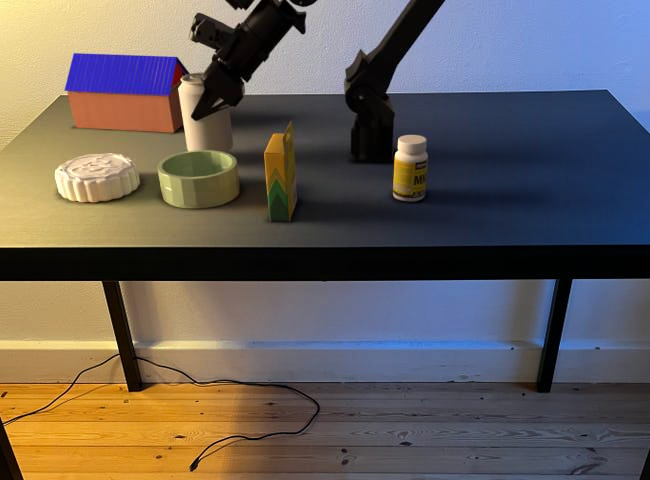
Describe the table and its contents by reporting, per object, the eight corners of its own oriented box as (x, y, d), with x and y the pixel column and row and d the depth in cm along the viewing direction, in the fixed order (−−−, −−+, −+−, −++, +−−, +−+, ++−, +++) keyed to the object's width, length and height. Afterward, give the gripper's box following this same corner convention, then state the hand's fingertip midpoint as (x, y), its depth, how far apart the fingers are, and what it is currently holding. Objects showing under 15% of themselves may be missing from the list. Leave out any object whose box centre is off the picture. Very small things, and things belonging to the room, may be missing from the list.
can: (225, 161, 109) (215, 83, 102) (181, 159, 110) (168, 81, 103) (239, 145, 115) (231, 70, 108) (197, 143, 116) (187, 69, 109)
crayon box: (277, 199, 100) (272, 119, 93) (297, 200, 99) (293, 119, 92) (268, 221, 94) (262, 137, 87) (289, 222, 93) (284, 137, 86)
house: (174, 133, 124) (164, 65, 117) (73, 127, 127) (57, 61, 120) (197, 113, 133) (189, 49, 126) (102, 108, 136) (89, 45, 129)
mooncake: (100, 209, 97) (95, 185, 95) (42, 193, 102) (35, 170, 100) (156, 180, 106) (153, 158, 104) (100, 167, 111) (95, 145, 108)
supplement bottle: (415, 205, 98) (419, 147, 93) (387, 198, 100) (389, 141, 95) (430, 193, 101) (434, 137, 96) (402, 187, 103) (405, 131, 98)
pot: (246, 179, 106) (243, 150, 103) (230, 209, 97) (227, 179, 94) (174, 177, 107) (170, 148, 104) (152, 207, 98) (147, 177, 95)
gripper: (224, -18, 106) (165, 59, 113) (208, 4, 91) (141, 91, 98) (278, 36, 111) (219, 107, 117) (271, 65, 96) (204, 144, 102)
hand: (196, 111), depth 109 cm, fingers closed on can, 7 cm apart
